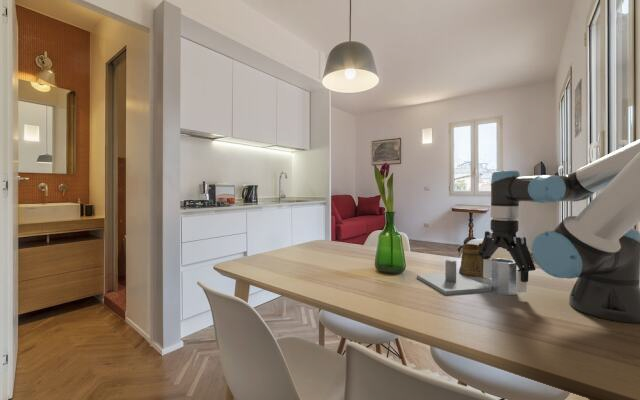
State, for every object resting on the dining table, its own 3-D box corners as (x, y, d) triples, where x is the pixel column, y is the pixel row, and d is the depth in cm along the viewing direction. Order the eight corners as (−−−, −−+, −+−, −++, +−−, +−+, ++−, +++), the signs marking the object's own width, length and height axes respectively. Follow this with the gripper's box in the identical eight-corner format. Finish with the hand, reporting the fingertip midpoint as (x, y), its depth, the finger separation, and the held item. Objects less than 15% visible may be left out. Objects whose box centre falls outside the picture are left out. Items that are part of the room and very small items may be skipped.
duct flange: (490, 291, 92) (490, 266, 92) (445, 294, 89) (445, 269, 89) (455, 275, 110) (455, 254, 109) (416, 277, 107) (416, 256, 107)
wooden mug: (501, 278, 105) (501, 230, 104) (460, 275, 109) (460, 229, 109) (495, 272, 113) (495, 227, 113) (457, 269, 118) (457, 226, 117)
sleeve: (521, 294, 89) (521, 262, 89) (503, 295, 88) (503, 263, 87) (504, 287, 95) (504, 257, 95) (487, 288, 94) (487, 258, 94)
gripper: (552, 223, 79) (550, 298, 80) (485, 215, 104) (484, 272, 105) (528, 224, 78) (527, 300, 79) (467, 215, 103) (466, 273, 103)
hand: (503, 284), depth 92 cm, fingers open, 13 cm apart
